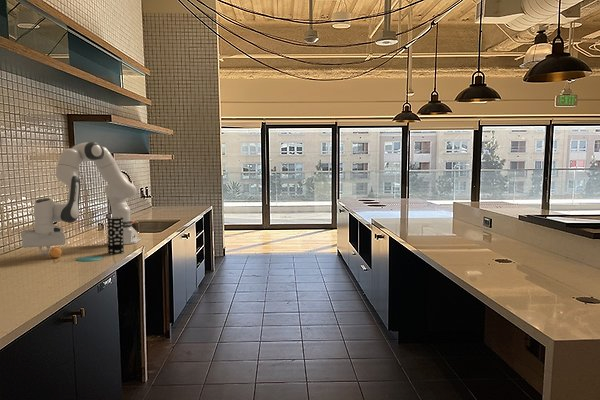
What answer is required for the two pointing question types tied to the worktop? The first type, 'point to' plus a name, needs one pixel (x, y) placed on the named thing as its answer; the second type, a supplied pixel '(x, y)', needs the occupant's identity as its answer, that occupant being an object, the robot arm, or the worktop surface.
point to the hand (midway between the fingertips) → (44, 254)
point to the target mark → (89, 258)
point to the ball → (55, 252)
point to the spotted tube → (115, 235)
